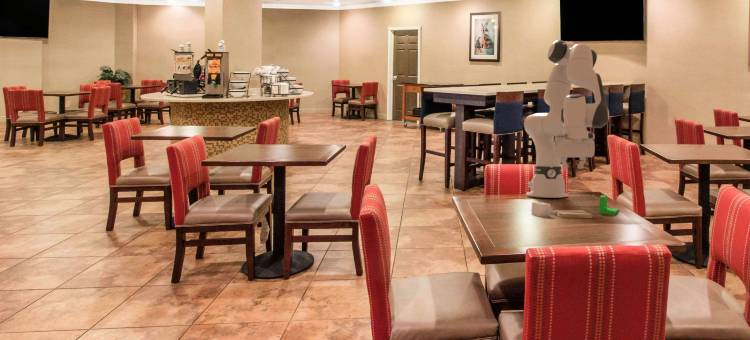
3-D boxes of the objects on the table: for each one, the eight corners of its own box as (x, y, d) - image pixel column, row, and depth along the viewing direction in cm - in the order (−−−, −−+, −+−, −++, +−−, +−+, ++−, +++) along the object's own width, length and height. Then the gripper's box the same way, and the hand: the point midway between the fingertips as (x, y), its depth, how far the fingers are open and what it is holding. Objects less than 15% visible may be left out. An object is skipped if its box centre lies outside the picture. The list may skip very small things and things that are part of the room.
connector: (529, 214, 254) (530, 202, 253) (538, 213, 255) (538, 201, 255) (546, 218, 242) (547, 205, 241) (555, 217, 243) (555, 205, 243)
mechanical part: (614, 216, 251) (615, 196, 251) (599, 215, 254) (599, 195, 254) (619, 213, 261) (620, 194, 261) (604, 212, 264) (605, 193, 264)
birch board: (552, 213, 257) (552, 209, 257) (581, 213, 257) (581, 210, 256) (562, 217, 243) (562, 214, 243) (592, 218, 243) (592, 214, 242)
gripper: (561, 134, 240) (560, 169, 241) (597, 134, 250) (596, 168, 251) (549, 134, 246) (548, 168, 246) (585, 134, 255) (584, 167, 256)
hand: (573, 168), depth 249 cm, fingers open, 7 cm apart
